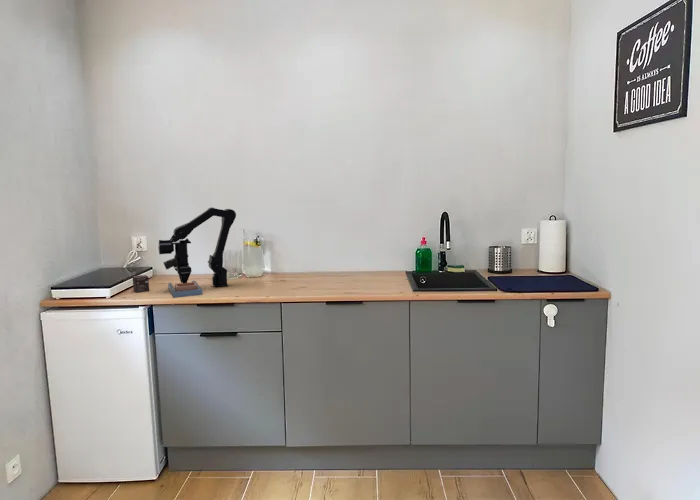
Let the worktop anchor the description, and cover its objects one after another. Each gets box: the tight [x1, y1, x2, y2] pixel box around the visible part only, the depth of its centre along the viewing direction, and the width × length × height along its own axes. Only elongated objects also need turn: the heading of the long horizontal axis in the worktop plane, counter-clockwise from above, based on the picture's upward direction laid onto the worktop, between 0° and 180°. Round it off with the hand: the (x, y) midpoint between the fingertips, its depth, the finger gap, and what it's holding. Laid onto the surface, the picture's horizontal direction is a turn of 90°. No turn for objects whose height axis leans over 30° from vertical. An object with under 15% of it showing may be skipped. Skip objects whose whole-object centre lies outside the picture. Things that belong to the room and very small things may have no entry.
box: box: [132, 274, 150, 293], centre depth 250 cm, size 6×6×7 cm
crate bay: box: [167, 280, 203, 298], centre depth 249 cm, size 13×23×2 cm, turn 25°
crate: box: [174, 281, 197, 291], centre depth 244 cm, size 9×8×4 cm
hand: (183, 284), depth 253 cm, fingers open, 9 cm apart
